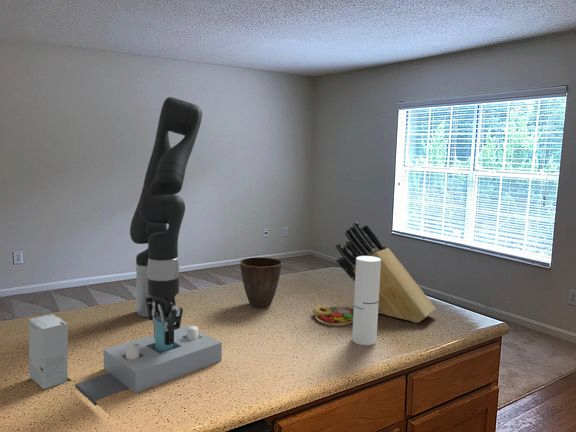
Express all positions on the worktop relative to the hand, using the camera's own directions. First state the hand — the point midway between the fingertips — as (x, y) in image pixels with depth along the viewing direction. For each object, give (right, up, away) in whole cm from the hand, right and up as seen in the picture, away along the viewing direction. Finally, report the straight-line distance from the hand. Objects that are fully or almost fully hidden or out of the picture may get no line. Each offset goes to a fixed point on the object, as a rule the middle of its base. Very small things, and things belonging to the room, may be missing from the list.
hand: (163, 340), depth 118 cm
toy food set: (+47, -4, +39) cm, 61 cm away
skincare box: (-26, -8, -6) cm, 27 cm away
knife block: (+65, -2, +49) cm, 81 cm away
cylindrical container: (+54, -6, +22) cm, 59 cm away
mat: (-11, -8, -10) cm, 17 cm away
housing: (0, -7, +1) cm, 7 cm away
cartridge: (0, -6, +1) cm, 6 cm away
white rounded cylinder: (-6, -6, -5) cm, 10 cm away
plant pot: (+21, -1, +51) cm, 55 cm away
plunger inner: (+6, -5, +7) cm, 10 cm away
